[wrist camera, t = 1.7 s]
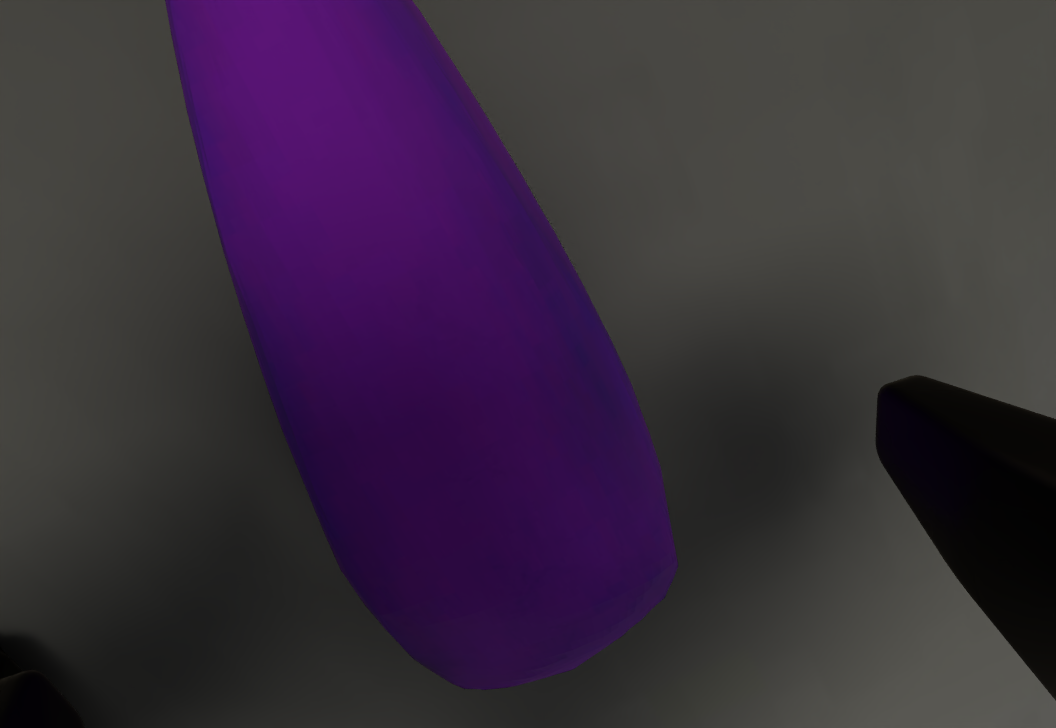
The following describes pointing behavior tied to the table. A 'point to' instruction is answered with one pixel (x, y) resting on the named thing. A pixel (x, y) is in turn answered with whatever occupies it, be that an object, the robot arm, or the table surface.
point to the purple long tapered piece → (423, 339)
